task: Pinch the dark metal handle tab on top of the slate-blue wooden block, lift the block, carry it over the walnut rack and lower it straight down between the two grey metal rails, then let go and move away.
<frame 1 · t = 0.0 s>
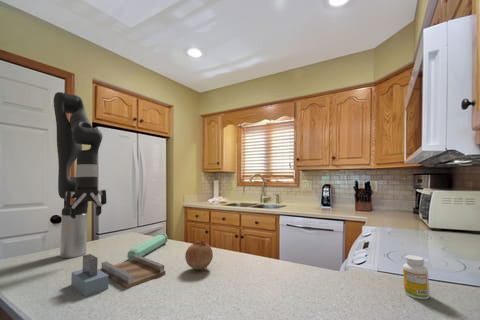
hand: (86, 216, 96), 17 cm above the countertop, tool pointing down, fingers open, 8 cm apart
onion: (199, 270, 84), on the countertop
rack: (132, 272, 82), on the countertop
supplement bottle: (417, 295, 64), on the countertop
cabinet block: (89, 287, 72), on the countertop
mint green cylinder: (148, 252, 106), on the countertop
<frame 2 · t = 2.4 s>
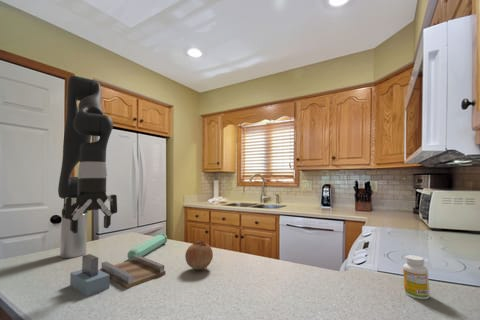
hand: (91, 230, 73), 17 cm above the countertop, tool pointing down, fingers open, 8 cm apart
nothing on the countertop moved.
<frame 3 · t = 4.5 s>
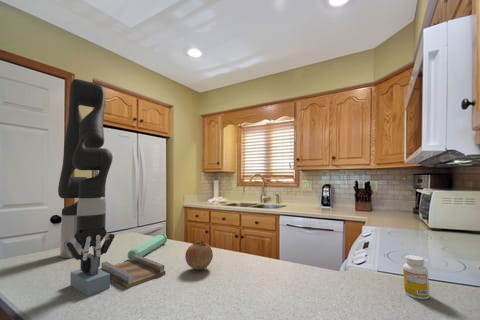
hand: (90, 270, 72), 5 cm above the countertop, tool pointing down, fingers closed on cabinet block
cabinet block: (89, 286, 72), on the countertop, touching gripper
everything else where it was.
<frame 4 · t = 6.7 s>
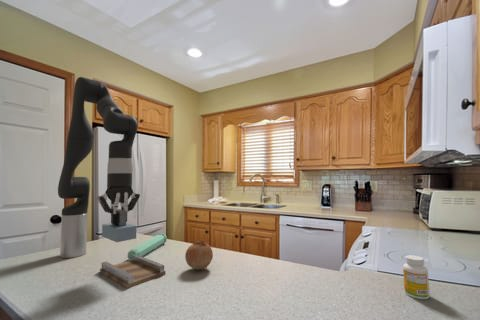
hand: (119, 224, 80), 17 cm above the countertop, tool pointing down, fingers closed on cabinet block
cabinet block: (118, 237, 79), point 13 cm above the countertop, touching gripper
everything else where it was.
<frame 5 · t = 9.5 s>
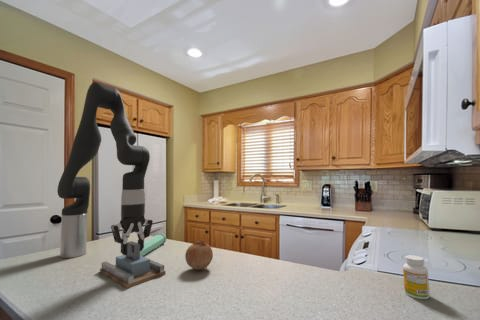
hand: (132, 252, 83), 7 cm above the countertop, tool pointing down, fingers open, 4 cm apart
cabinet block: (132, 270, 82), point 1 cm above the countertop, touching rack
everything else where it was.
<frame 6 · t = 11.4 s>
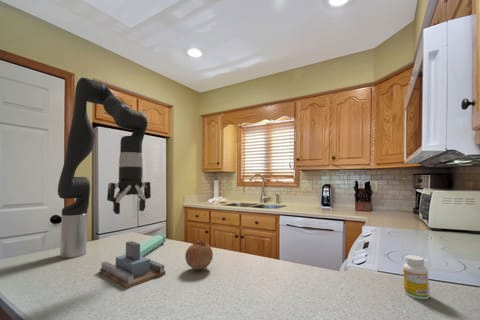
hand: (129, 212, 84), 20 cm above the countertop, tool pointing down, fingers open, 8 cm apart
nothing on the countertop moved.
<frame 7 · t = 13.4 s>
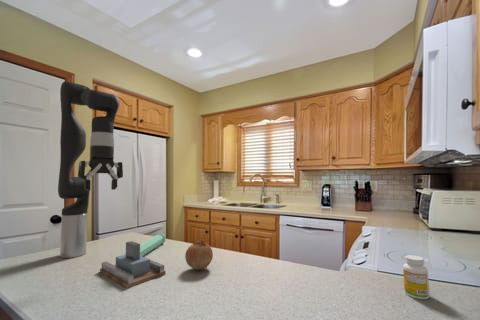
hand: (101, 190, 87), 28 cm above the countertop, tool pointing down, fingers open, 8 cm apart
nothing on the countertop moved.
at the end: cabinet block inside the target area on the rack (0.2 cm from its centre), point 1.0 cm above the rack's base; cabinet block tilted 0°; the gripper is holding nothing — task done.
